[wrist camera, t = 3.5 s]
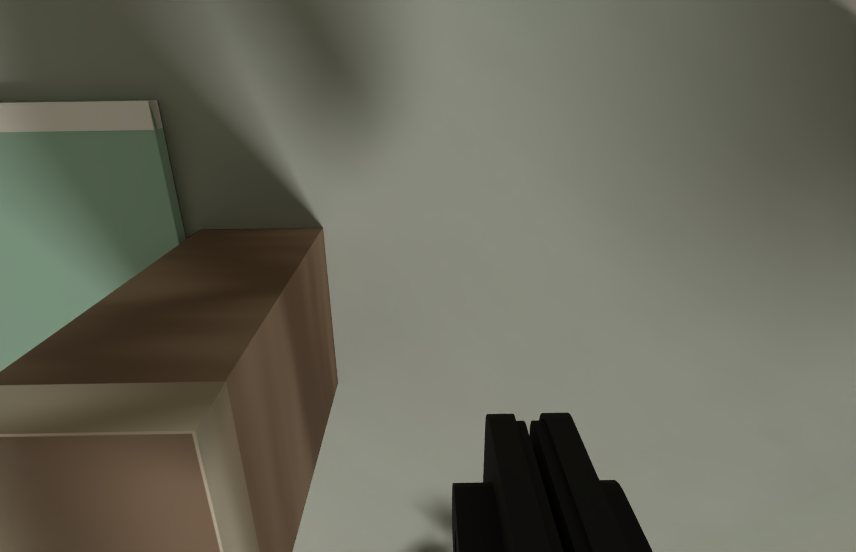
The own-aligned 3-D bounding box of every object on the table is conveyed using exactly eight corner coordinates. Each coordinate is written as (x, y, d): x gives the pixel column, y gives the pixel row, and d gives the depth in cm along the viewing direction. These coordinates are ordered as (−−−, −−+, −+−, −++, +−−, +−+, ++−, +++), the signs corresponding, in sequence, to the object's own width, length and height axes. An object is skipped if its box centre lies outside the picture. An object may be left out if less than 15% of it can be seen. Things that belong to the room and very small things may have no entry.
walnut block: (324, 226, 16) (195, 430, 7) (339, 384, 19) (257, 694, 9) (198, 228, 16) (-100, 435, 7) (228, 385, 19) (36, 698, 9)
